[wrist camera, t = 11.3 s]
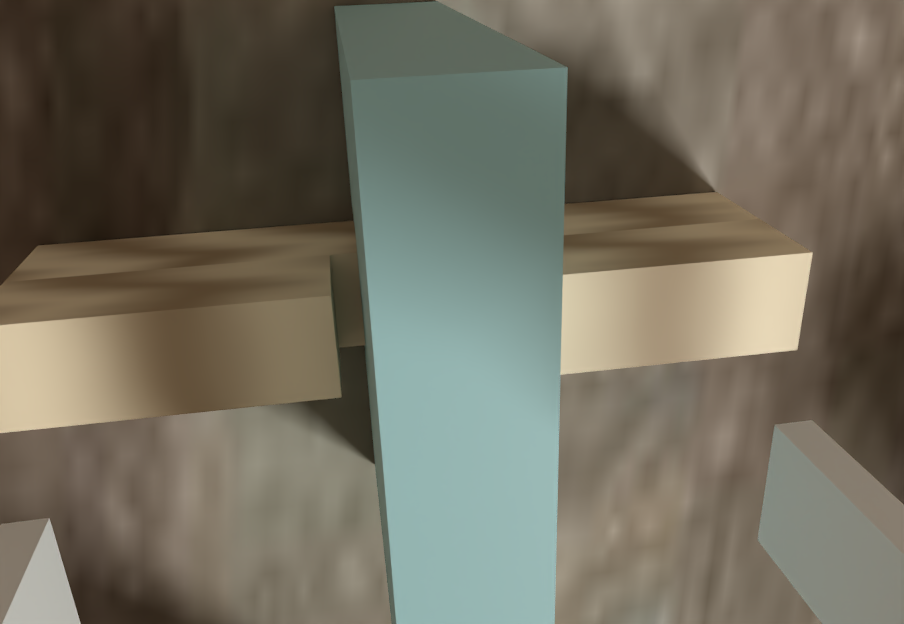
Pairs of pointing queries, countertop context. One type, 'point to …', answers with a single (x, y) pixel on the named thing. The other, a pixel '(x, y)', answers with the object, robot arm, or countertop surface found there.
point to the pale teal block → (459, 304)
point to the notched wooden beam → (340, 309)
